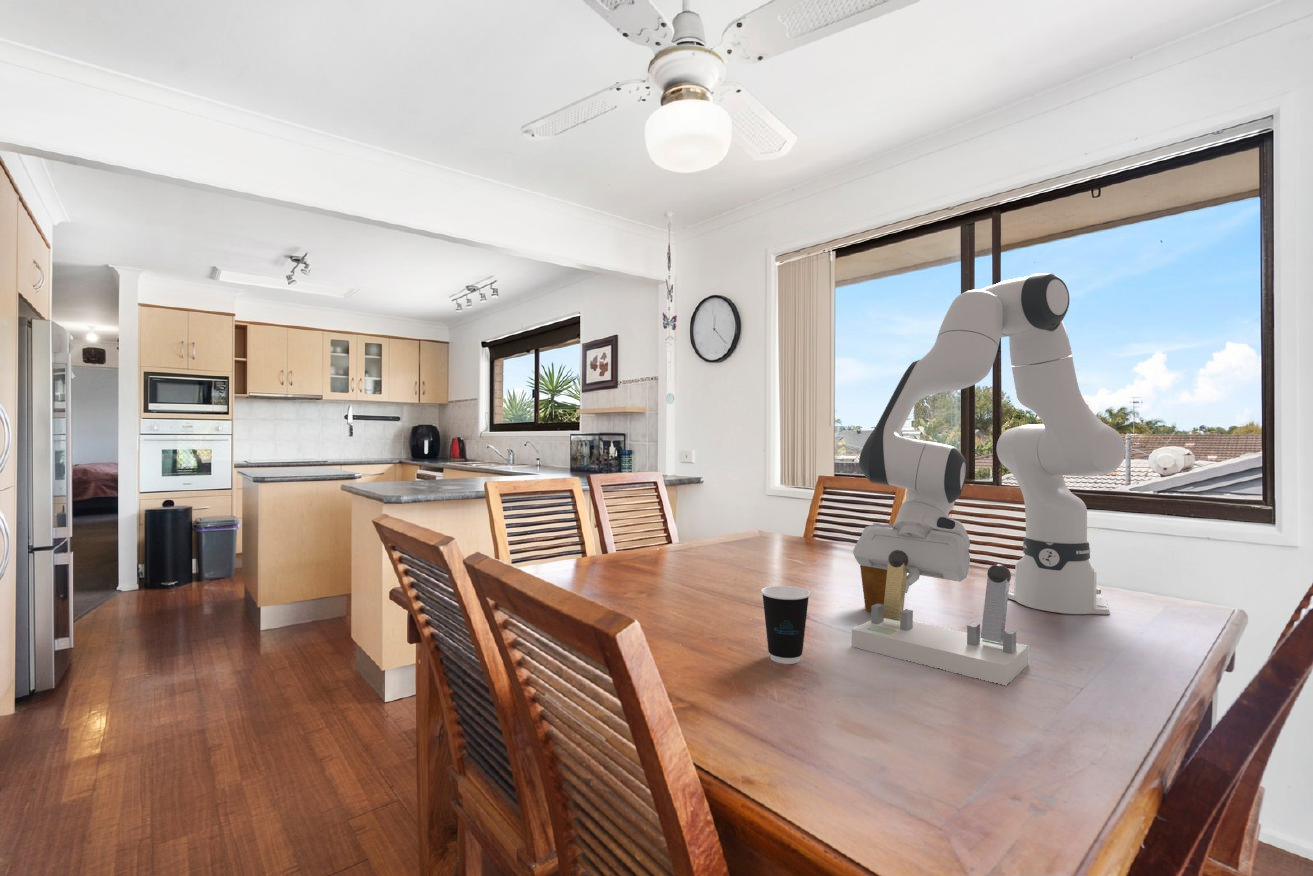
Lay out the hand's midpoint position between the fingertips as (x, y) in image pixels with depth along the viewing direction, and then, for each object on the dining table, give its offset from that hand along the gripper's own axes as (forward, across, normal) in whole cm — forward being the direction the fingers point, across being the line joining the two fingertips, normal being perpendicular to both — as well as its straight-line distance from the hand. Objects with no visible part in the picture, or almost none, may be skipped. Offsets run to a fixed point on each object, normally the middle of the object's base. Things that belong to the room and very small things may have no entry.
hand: (897, 590), depth 111 cm
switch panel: (+9, +8, +3) cm, 13 cm away
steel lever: (+6, +16, +2) cm, 18 cm away
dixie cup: (+22, -8, -11) cm, 26 cm away
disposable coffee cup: (-4, -10, +17) cm, 20 cm away
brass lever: (+6, 0, +2) cm, 6 cm away
